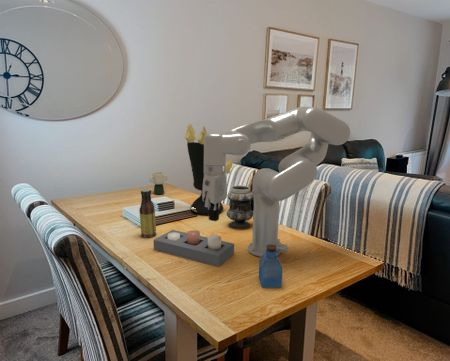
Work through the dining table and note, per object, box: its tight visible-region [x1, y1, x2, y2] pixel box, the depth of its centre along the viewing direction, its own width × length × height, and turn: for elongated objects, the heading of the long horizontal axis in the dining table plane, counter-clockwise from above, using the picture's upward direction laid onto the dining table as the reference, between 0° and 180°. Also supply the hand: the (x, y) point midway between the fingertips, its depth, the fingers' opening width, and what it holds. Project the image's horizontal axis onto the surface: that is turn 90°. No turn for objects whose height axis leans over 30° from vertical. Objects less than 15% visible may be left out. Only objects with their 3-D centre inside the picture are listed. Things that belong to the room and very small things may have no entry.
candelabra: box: [184, 123, 233, 216], centre depth 170 cm, size 19×22×45 cm
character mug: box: [149, 171, 168, 195], centre depth 207 cm, size 11×7×13 cm, turn 120°
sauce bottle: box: [138, 188, 157, 239], centre depth 141 cm, size 7×6×20 cm
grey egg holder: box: [153, 229, 235, 268], centre depth 128 cm, size 28×12×4 cm, turn 62°
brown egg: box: [186, 230, 201, 246], centre depth 128 cm, size 5×5×5 cm
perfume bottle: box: [258, 244, 283, 288], centre depth 107 cm, size 6×6×12 cm
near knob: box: [207, 234, 222, 251], centre depth 124 cm, size 5×5×5 cm
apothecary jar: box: [226, 184, 254, 230], centre depth 155 cm, size 12×12×18 cm
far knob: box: [167, 232, 180, 241], centre depth 132 cm, size 5×5×5 cm
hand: (213, 219), depth 122 cm, fingers closed
